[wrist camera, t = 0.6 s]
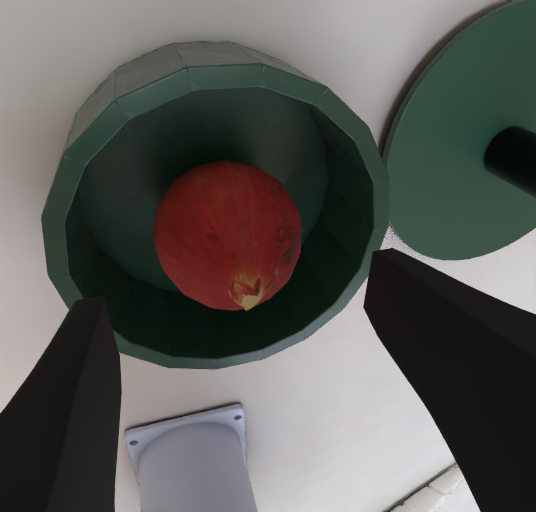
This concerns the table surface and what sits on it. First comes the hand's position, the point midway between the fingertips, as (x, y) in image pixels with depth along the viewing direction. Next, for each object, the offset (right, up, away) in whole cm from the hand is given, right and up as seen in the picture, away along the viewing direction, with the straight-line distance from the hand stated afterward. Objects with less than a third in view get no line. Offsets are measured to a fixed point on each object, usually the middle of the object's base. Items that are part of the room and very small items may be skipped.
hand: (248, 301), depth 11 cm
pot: (-2, +4, +9) cm, 10 cm away
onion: (-2, +4, +9) cm, 10 cm away
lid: (+13, +7, +11) cm, 19 cm away
